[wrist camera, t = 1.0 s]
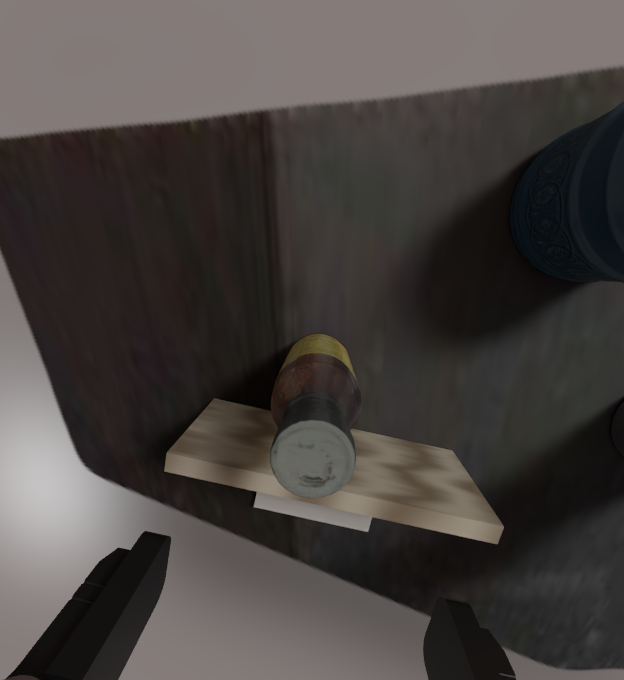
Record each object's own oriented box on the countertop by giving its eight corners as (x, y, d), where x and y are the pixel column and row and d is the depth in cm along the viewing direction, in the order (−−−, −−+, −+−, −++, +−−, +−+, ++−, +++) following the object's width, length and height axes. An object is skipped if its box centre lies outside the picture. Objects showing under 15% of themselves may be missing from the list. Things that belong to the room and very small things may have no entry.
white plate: (384, 464, 37) (386, 469, 36) (367, 526, 39) (367, 532, 38) (268, 439, 37) (266, 442, 36) (255, 502, 39) (253, 506, 38)
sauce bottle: (328, 400, 36) (327, 554, 17) (276, 369, 36) (215, 490, 16) (362, 348, 35) (406, 450, 15) (309, 316, 34) (285, 378, 15)
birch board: (452, 450, 37) (504, 526, 26) (448, 463, 37) (497, 544, 26) (214, 398, 37) (166, 452, 26) (211, 412, 37) (164, 471, 26)
